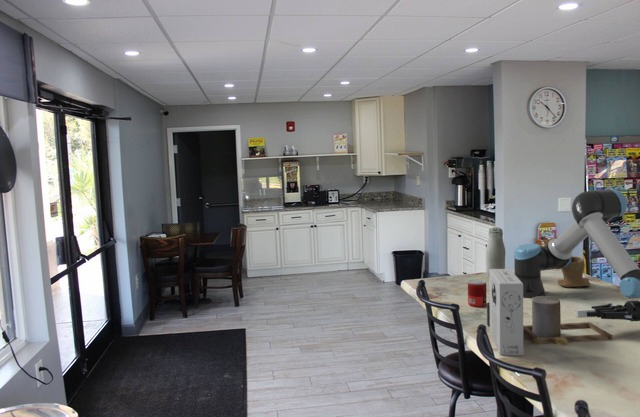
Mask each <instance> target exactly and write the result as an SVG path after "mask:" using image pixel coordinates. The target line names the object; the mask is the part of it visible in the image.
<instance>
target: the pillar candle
mask: <svg viewBox="0 0 640 417" xmlns="http://www.w3.org/2000/svg"><path fill="white" fill-rule="evenodd" d="M531 314H532V315H531V318H532V320H531V321H532V322H531V323H532V324H531V325H532V330H531V331H532V332H533V333H534V334H536V335H537V338H544V337H562V336H561V334H562V333H561V332H562V329H561V324H562V322H561V317H562V316H561V315H562V314H561V299H559V298H558V297H554V296H549V295H544V296H537V297H533V298H531Z"/></svg>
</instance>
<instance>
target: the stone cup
mask: <svg viewBox="0 0 640 417" xmlns="http://www.w3.org/2000/svg"><path fill="white" fill-rule="evenodd" d="M585 266H586V265H585V260H584V259H583V258H582V257H581V256H576V255H572V258H571V262H570V264H569V265H568V266H566V267H564V268H561V269H560V270H561V272H562V275H563V279H559V280H557V284H558V285H559V286H561V287H564V288H565V287H566V288H572V287H573V288H574V287H575V288H578V287H590V286H591V283H590V278H584V277H583V274H584V270H585Z"/></svg>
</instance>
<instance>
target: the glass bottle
mask: <svg viewBox="0 0 640 417" xmlns="http://www.w3.org/2000/svg"><path fill="white" fill-rule="evenodd" d="M503 235H504V231H503V229H502V228H501V227H491V228H489V229H488V241H487V244H486V248H485V273H486V276H487V277H488V278H489V270H490V269H506V247H505V243H504V238H503Z"/></svg>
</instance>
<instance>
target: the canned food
mask: <svg viewBox="0 0 640 417" xmlns="http://www.w3.org/2000/svg"><path fill="white" fill-rule="evenodd" d="M467 303H468V305H469V307H473V308H485V307H487V281H486V280H484V279H480V278H479V279H477V278H474V279H473V278H472V279H469V280H467Z"/></svg>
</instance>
